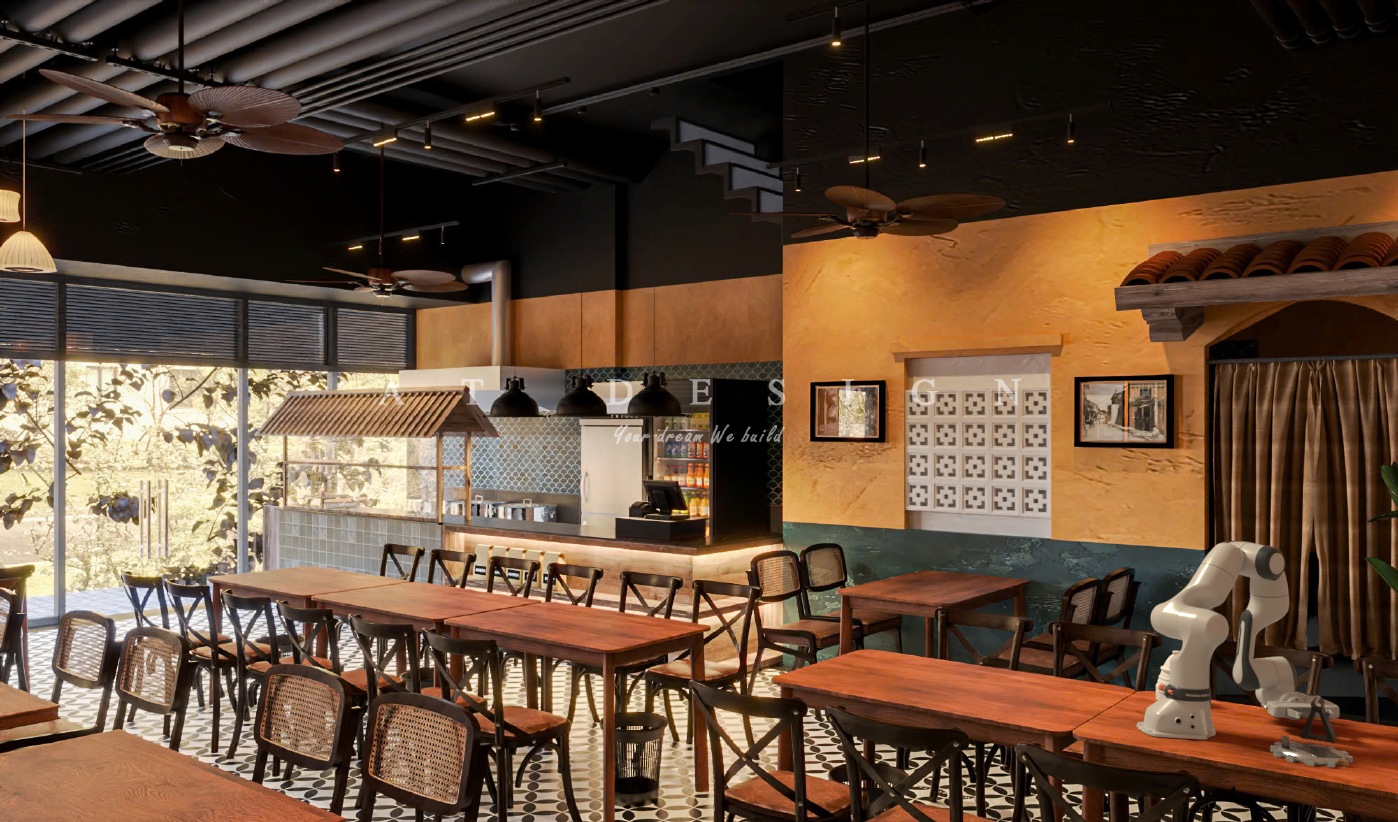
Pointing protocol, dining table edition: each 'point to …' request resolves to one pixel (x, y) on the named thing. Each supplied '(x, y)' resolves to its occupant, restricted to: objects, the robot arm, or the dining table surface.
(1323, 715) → the dark grey triangular bracket
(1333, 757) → the sprocket
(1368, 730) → the dining table surface
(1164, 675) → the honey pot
